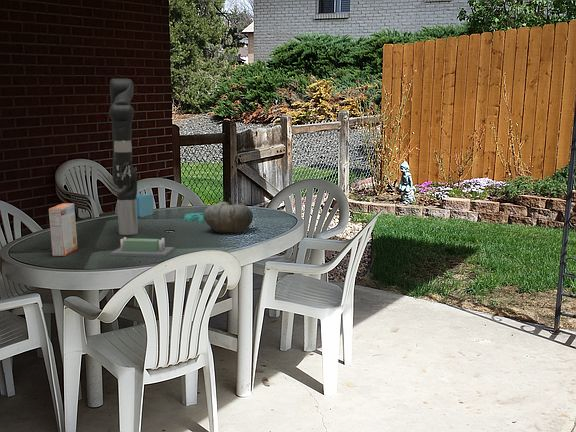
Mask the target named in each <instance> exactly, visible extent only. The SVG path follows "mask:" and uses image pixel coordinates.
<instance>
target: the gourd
mask: <svg viewBox="0 0 576 432" xmlns="http://www.w3.org/2000/svg"><path fill="white" fill-rule="evenodd" d="M202 213H203V216H204V219H205V220H204V222H205V223H206V225H207V226H208V227H210V229H212V230H214V231H215V232H217V233H220V232H222V234H223V232H224V233H240V232H244V231H246V230H248V228H249V227H250V226H251V225H252V223H253V221H254V220H253V218H254V213H253V211H252V210H251V208H249V207H248V206H247V205H245V204H241V203H236V204H233V202H232V199H231V197H229V200H228V202H226V201H219V202H217V203H214V204H213V205H210V206H208V207H206V208H205V209H204V210H203V212H202Z"/></svg>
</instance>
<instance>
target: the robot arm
mask: <svg viewBox="0 0 576 432" xmlns="http://www.w3.org/2000/svg"><path fill="white" fill-rule="evenodd" d="M134 92H135V87H134V82H133V80H132V79H130V78H111V79H110V80H109V93H110V94H109V96H110V107H109V110H108V117H109V118H110V119H111V137H112V138H111V139H112V181H113V184H114V185H115V186H116V187H117V188H118V189H123V190H122V191H119V192H118V193H117V194H116V199H117V201H116V202H117V219H118V220H117V221H118V222H117V223H118V234H119V235H121V236H131V235H132V236H133V235H137V234H138V233H139V229H138V228H139V227H138V226H139V225H138V217H137V201H136V196H137V195H138V174H137V173H138V171H137V170H136V168H135V167H134V166H133V163H132V162H133V151H132V150H133V148H132V147H133V145H132V140H133V135H132V134H133V130H132V127H133V126H132V124H133V121H134V120H133V119H134V117H135V116H134V115H135V109H134V108H133V106H132V105H131V101H132V100H133V97H134ZM124 187H125V188H124Z"/></svg>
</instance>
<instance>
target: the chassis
mask: <svg viewBox="0 0 576 432" xmlns="http://www.w3.org/2000/svg"><path fill="white" fill-rule="evenodd" d="M126 239H127V237H126V236H123V238H121V239H119V241H120V246H119V247H118V248H116V249H115V250H113V251H111V252H110V253H109V254H110V257H140V258H141V257H144V258H145V257H147V258H166V257H167V256H168V255H170V254H171V253H172V252H174V251H175V247H174V246H166V245H165V242H166V241H165V237H161V239H159V250H158V251H156V252H146V251H125V245H124V241H125V240H126Z"/></svg>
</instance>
